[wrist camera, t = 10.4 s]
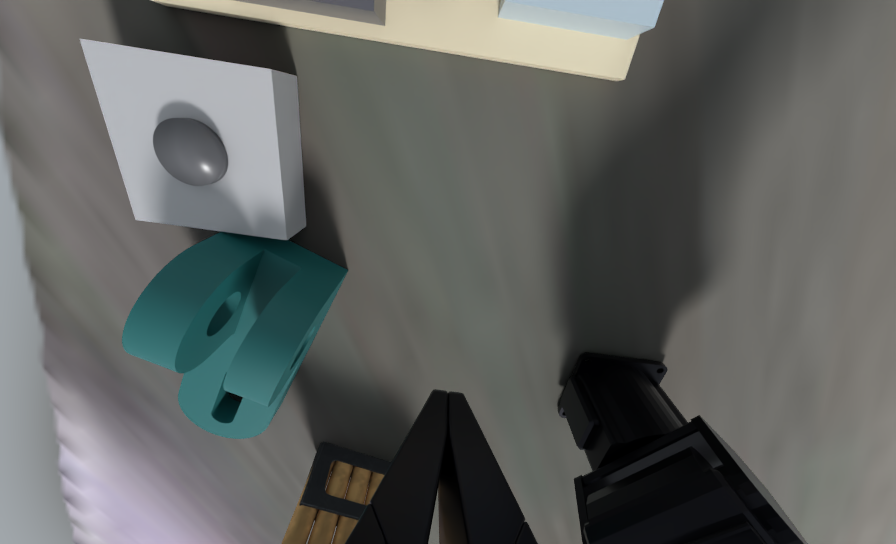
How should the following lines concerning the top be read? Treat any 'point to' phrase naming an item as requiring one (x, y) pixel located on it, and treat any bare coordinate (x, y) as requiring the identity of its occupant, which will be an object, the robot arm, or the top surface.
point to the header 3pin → (587, 15)
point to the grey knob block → (203, 139)
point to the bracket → (233, 325)
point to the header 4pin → (334, 8)
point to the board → (455, 33)
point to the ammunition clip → (334, 495)
